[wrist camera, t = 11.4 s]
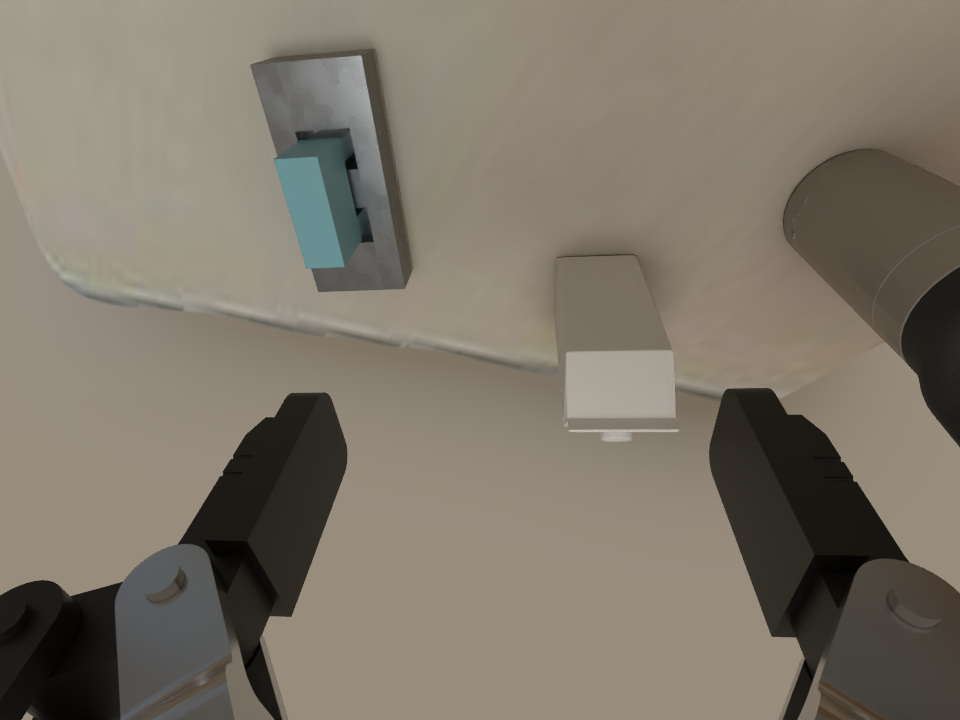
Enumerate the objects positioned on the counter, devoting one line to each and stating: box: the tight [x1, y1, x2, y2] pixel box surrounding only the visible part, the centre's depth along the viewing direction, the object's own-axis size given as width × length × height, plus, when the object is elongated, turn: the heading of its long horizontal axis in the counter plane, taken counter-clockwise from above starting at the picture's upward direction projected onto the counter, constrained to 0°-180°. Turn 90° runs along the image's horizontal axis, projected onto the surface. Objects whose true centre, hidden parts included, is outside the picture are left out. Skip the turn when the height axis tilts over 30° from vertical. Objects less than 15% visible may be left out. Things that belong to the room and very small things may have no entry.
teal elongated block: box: [274, 128, 370, 268], centre depth 40 cm, size 8×3×9 cm, turn 4°
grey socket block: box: [250, 49, 413, 292], centre depth 43 cm, size 18×8×4 cm, turn 4°
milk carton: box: [555, 255, 679, 441], centre depth 41 cm, size 7×7×19 cm
